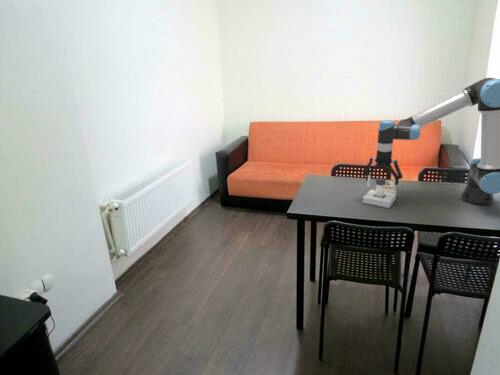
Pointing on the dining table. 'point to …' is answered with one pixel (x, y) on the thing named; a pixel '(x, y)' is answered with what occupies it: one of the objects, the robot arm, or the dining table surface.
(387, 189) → the electrical outlet
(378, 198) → the socket block
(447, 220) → the dining table surface
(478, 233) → the dining table surface
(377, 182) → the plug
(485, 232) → the dining table surface
